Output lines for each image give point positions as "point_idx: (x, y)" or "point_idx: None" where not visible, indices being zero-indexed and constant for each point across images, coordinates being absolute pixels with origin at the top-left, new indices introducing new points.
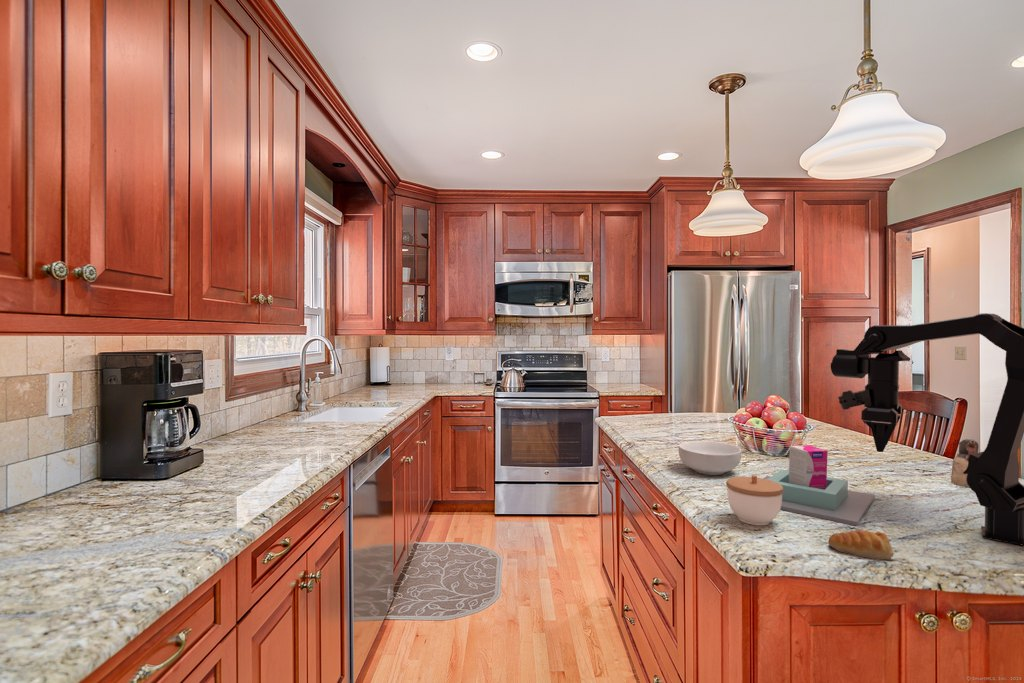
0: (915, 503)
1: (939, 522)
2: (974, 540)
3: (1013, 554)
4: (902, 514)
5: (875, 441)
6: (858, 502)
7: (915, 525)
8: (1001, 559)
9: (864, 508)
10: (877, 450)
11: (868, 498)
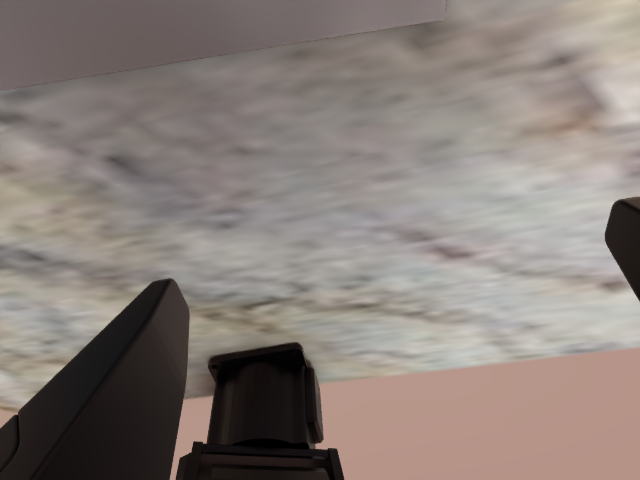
0: (472, 168)
1: (266, 271)
2: None
3: None
4: (255, 176)
5: (73, 369)
6: (205, 2)
7: (153, 236)
8: None
9: (122, 63)
10: (151, 290)
11: (338, 17)
